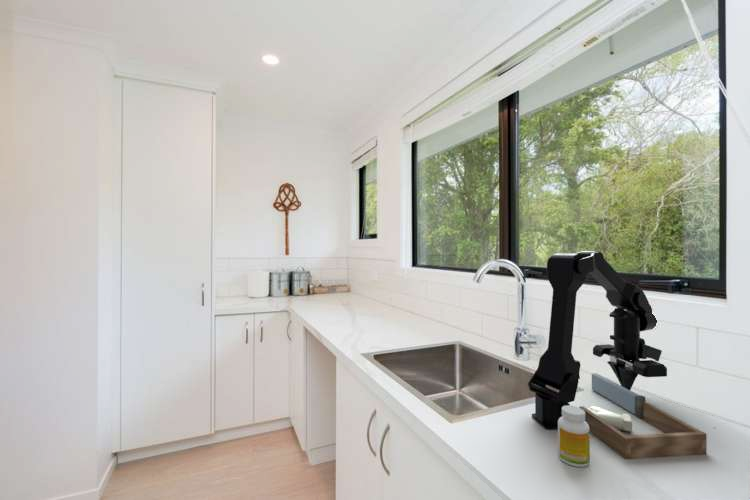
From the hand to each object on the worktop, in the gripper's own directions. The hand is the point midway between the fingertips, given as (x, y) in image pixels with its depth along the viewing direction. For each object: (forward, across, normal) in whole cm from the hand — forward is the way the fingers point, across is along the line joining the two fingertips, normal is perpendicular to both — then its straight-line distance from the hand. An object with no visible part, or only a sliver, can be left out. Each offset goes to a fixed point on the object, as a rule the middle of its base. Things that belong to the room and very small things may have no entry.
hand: (626, 391), depth 95 cm
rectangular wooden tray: (+2, -17, +13) cm, 21 cm away
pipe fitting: (+2, -12, +15) cm, 20 cm away
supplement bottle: (+2, -24, +31) cm, 39 cm away
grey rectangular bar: (+2, -1, +5) cm, 5 cm away
